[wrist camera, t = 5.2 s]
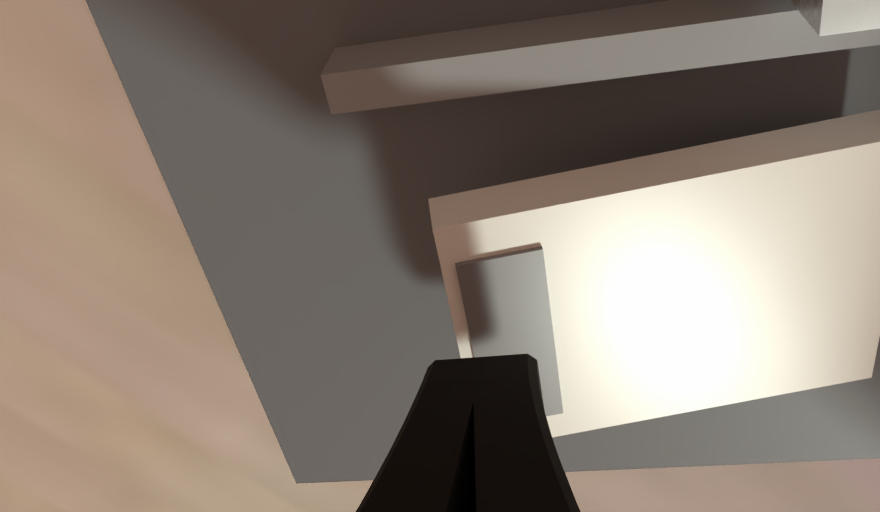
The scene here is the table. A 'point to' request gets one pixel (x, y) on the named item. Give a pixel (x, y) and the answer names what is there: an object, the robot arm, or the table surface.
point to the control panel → (452, 183)
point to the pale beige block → (840, 15)
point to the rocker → (676, 273)
